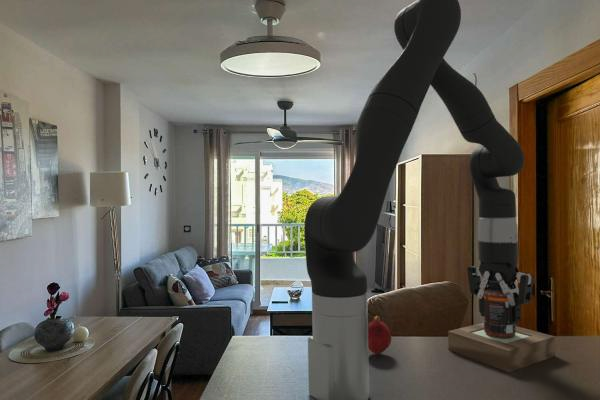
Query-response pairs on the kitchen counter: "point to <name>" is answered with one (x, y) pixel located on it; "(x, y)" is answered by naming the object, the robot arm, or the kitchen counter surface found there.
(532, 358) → the wooden tray
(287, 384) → the kitchen counter surface
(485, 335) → the plate
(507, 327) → the supplement bottle
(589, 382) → the kitchen counter surface
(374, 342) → the pomegranate
